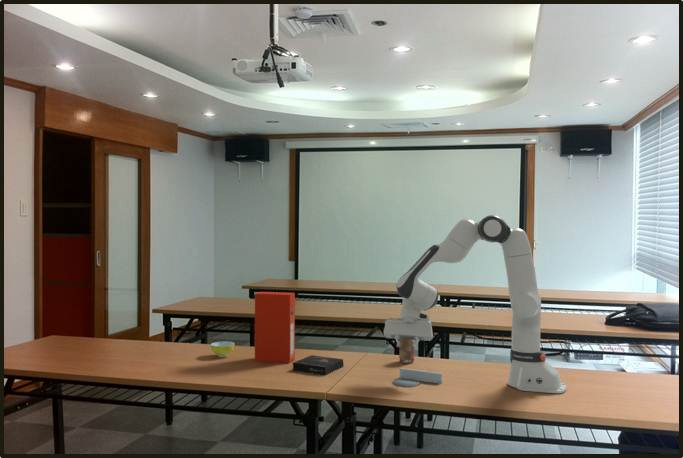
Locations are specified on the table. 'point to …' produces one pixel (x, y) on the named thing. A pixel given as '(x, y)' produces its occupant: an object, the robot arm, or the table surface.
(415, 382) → the coaster
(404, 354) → the walnut block
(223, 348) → the bowl
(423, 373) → the acrylic wall
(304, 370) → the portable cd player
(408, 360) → the soda can
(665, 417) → the table surface
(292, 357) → the file binder
